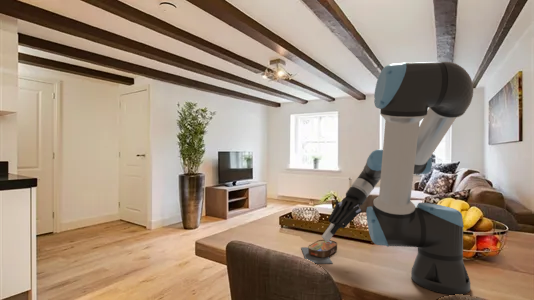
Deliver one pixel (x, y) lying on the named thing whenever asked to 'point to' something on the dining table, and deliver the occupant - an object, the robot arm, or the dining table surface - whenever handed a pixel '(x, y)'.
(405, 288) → the dining table surface
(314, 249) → the tin
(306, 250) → the mat
